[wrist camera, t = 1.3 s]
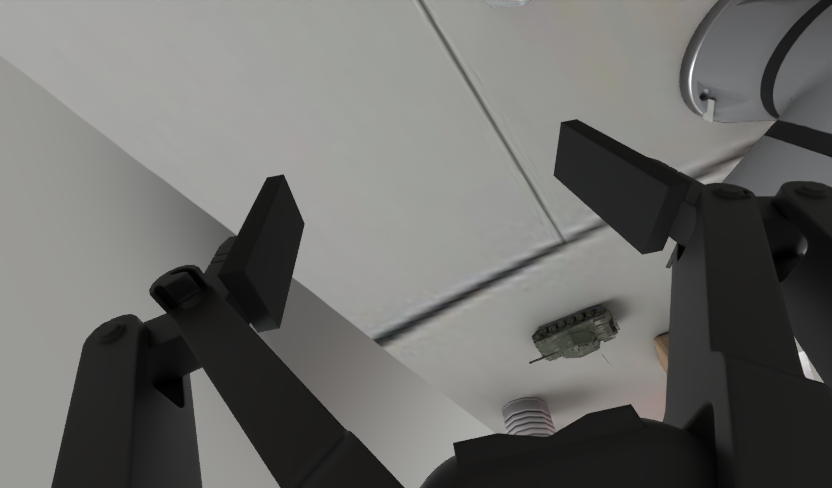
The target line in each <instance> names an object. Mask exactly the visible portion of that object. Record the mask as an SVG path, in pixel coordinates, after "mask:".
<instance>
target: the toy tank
mask: <svg viewBox="0 0 832 488" xmlns="http://www.w3.org/2000/svg"><path fill="white" fill-rule="evenodd" d="M603 310H604V311H603ZM593 311H596V313H595V314H594V312H593ZM591 312H592V313H591ZM584 314H586V316H587V317H585V318H584V316H583V315H584ZM587 314H588V315H587ZM591 314H592V315H591ZM581 316H583V317H581ZM574 318H576V319H577V320H576V321H575V320H574ZM568 321H569V322H568ZM565 322H566V323H567V324H565ZM556 325H558V328H557V329H556ZM559 325H560V326H559ZM553 327H554V328H553ZM550 328H551V330H550ZM546 329H548V330H549V332H548V333H547V330H546ZM617 330H620V328H619V326H618V325H617V322H616V321H615V319H614V317H613V315H611V314H610V313H609V311H607V312H606V309H605V308H604V307H603V306H602V305H601V306H596V307H591V308H587V309H585V310H582V311H580V312H577V313H575V314H572V315H570V316H567V317H565V318H562V319H560V320H557V321H555V322H552V323H549V324H547V325H544V326H542V327H540V328H539V329H538V330H537V331H536V332H535V333H534V335H533V336H532V338H533V341H534V342H533V343H534V345H535V346H536V348H537V349H538V350H539V352H540V353H541V355H542V356H543V357H541V358H539V359H536V360H533V361H531V362H529V363H530V364H531V363H533V362H535V361H538V360H541V359H544V358H545V359H546V360H548V361H551V360H554V359H555V360H556V358H559V357H561V356H563V358H564V357H565V358H578V357H583V356H585V355H587V354H589V353H591V352H593V351H596V350H598V349H599V348H600V347H599V345H600V341H604V342H606V341H609V340H611V339H613V338H616V337H615V335H616V334H617V333H618V331H617ZM544 331H545V332H544ZM541 332H542V333H541ZM604 358H605V357H604ZM605 359H606V358H605ZM608 363H609V362H608Z"/></svg>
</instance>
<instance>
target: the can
mask: <svg viewBox="0 0 832 488" xmlns="http://www.w3.org/2000/svg"><path fill="white" fill-rule="evenodd" d="M502 412H503V418H504V422H505V427H506V431H507V434H513V435H528V436H550V435H553V434H554V433H556V431H555V428H554V425H553V422H552V420H551V417H550V414H549V411H548V408H547V405H546V403H544V402H543V401H541V400H539V399H537V398H521V399H518V400H515V401H511V402H509V403H508V404H507V405H506V406H505V407H504V408H503V409H502Z"/></svg>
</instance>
